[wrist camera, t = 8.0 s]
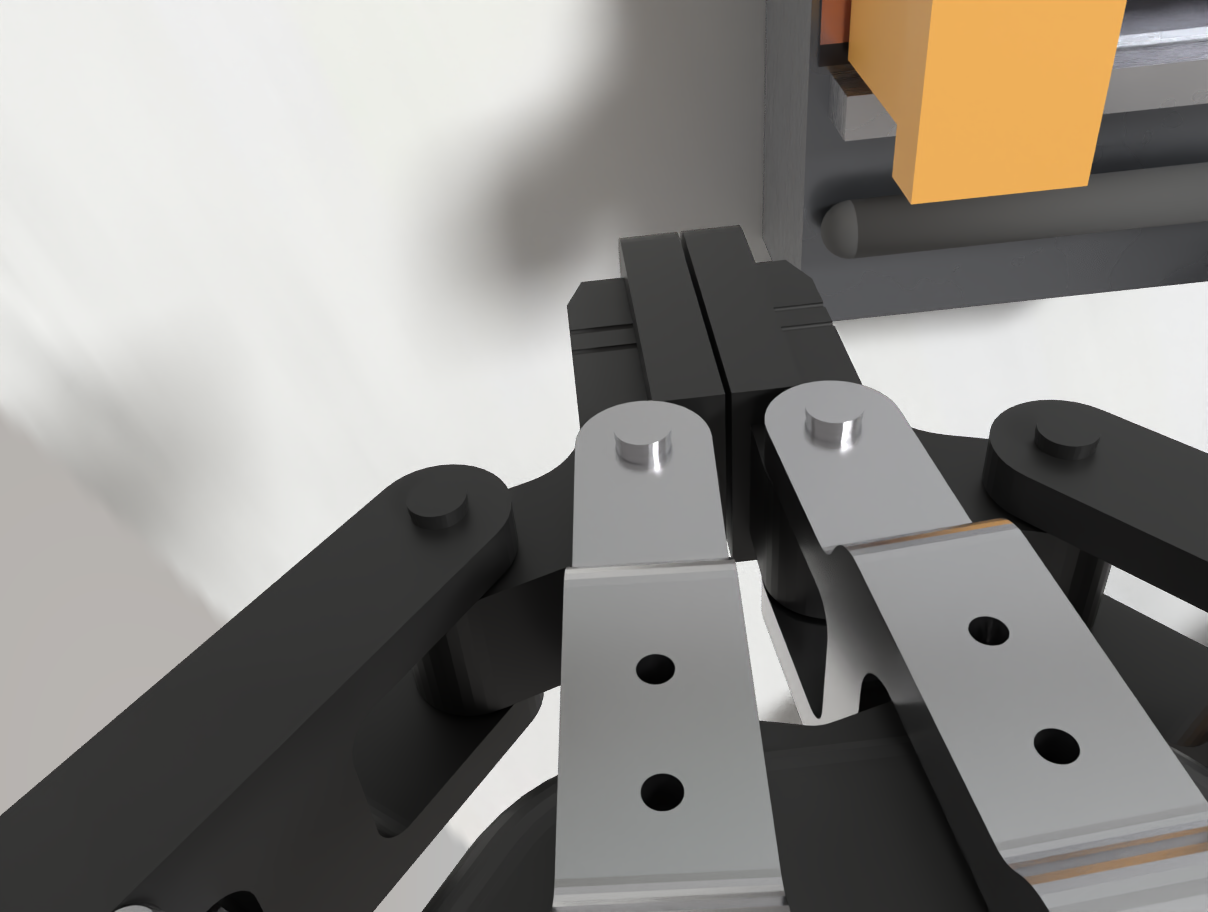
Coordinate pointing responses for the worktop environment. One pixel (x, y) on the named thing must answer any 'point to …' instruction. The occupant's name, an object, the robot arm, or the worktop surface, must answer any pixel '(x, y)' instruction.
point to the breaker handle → (988, 90)
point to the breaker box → (864, 170)
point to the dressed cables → (1019, 213)
